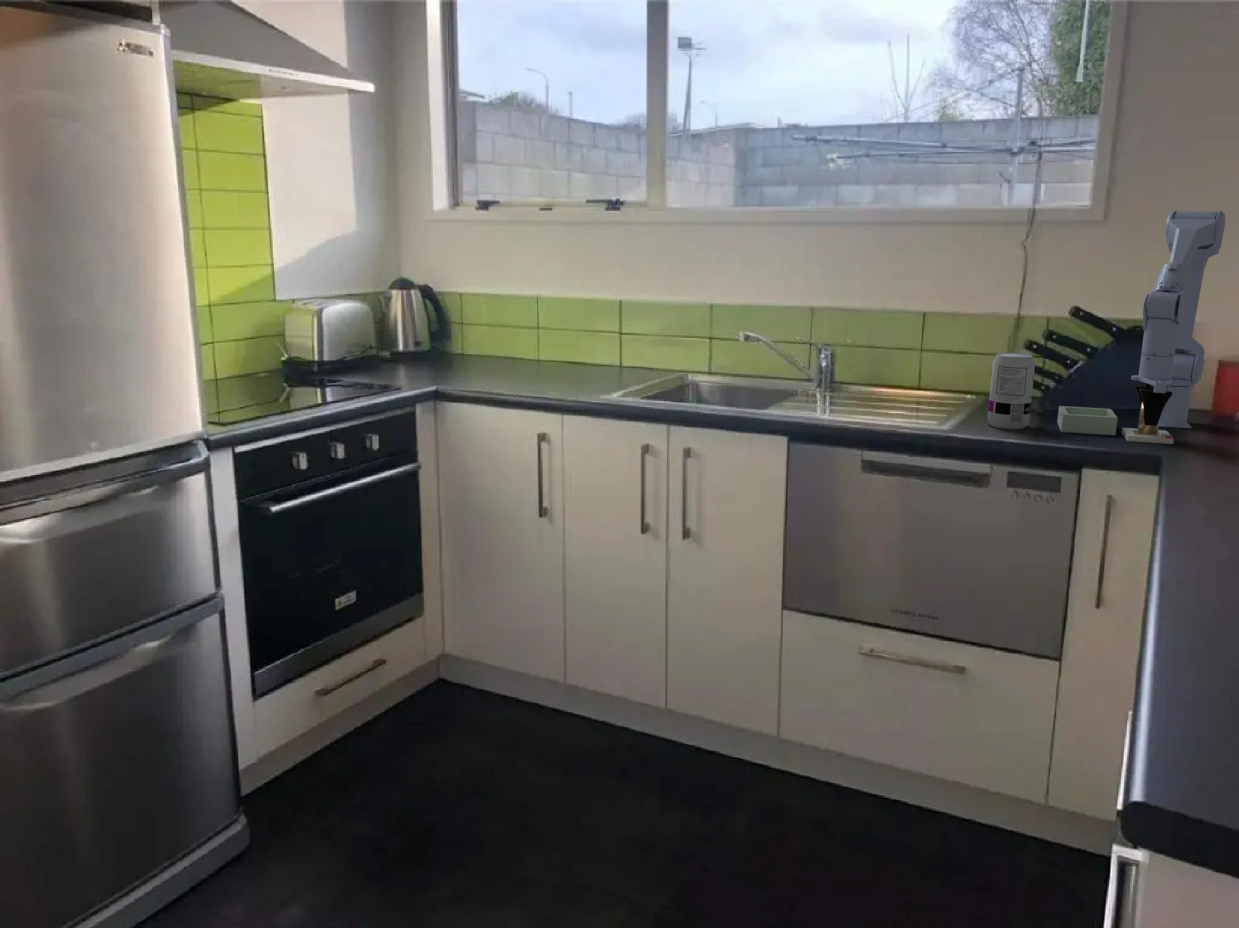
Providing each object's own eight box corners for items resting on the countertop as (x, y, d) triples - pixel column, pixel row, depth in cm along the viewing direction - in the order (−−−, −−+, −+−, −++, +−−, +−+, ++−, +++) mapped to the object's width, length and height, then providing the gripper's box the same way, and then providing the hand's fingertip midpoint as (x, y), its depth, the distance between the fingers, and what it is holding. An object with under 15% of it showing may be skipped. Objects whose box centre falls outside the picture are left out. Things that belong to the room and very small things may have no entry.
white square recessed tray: (1121, 435, 204) (1122, 426, 203) (1165, 437, 201) (1166, 429, 201) (1126, 443, 196) (1128, 434, 196) (1172, 446, 194) (1174, 437, 193)
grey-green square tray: (1057, 424, 214) (1059, 406, 213) (1108, 427, 211) (1111, 409, 210) (1060, 433, 205) (1063, 414, 204) (1115, 437, 201) (1117, 417, 200)
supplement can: (978, 423, 214) (984, 353, 211) (1008, 420, 217) (1015, 351, 214) (1006, 431, 207) (1013, 358, 203) (1037, 428, 210) (1044, 356, 207)
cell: (1136, 430, 201) (1140, 398, 199) (1155, 431, 200) (1160, 399, 198) (1139, 434, 197) (1143, 401, 196) (1158, 435, 196) (1163, 402, 195)
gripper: (1129, 348, 203) (1121, 415, 206) (1140, 358, 189) (1131, 429, 193) (1168, 350, 200) (1159, 417, 204) (1182, 360, 187) (1172, 431, 190)
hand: (1148, 423), depth 198 cm, fingers closed on cell, 3 cm apart
